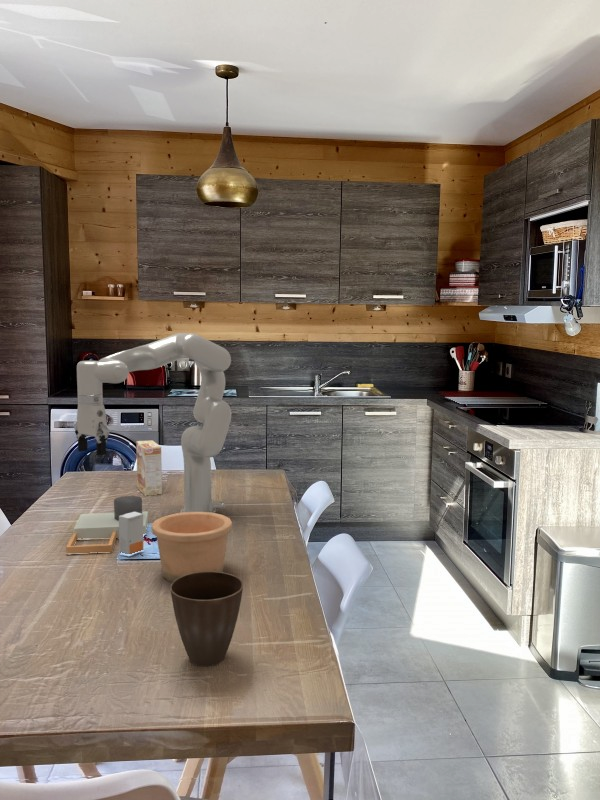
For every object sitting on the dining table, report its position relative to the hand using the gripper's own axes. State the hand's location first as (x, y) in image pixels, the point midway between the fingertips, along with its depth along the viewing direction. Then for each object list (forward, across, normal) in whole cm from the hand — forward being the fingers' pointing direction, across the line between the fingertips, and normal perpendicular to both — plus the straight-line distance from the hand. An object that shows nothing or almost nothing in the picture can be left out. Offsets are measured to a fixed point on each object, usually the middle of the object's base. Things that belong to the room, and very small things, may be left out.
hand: (92, 452), depth 219 cm
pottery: (+27, -49, +3) cm, 56 cm away
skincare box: (+27, -24, +4) cm, 36 cm away
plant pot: (+27, -86, +34) cm, 97 cm away
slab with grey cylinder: (+27, -7, -1) cm, 28 cm away
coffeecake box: (+27, +28, -46) cm, 60 cm away
